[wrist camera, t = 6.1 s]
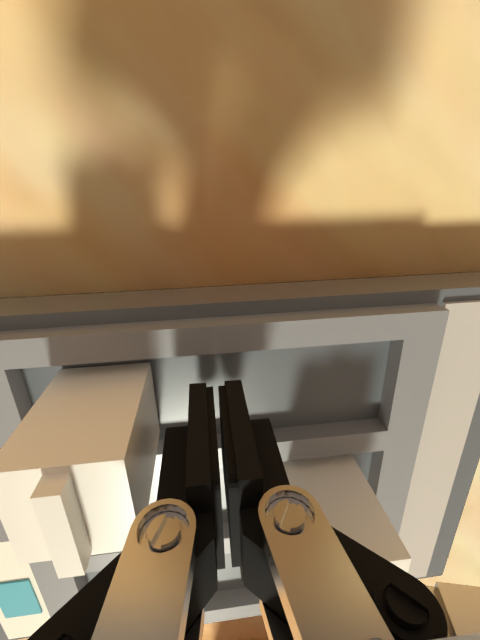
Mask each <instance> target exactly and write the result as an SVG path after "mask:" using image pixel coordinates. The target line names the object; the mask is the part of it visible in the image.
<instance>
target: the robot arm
mask: <svg viewBox="0 0 480 640" xmlns="http://www.w3.org/2000/svg"><path fill="white" fill-rule="evenodd" d="M218 392H219V411H220V429H221V448H222V463H223V474H224V485H225V495H226V506H227V517H228V528H229V539H230V550H231V561H232V568H233V567H240V571H241V580H242V581H244V586H245V587H246V588H247V589H248V590H250V591H251V592H252V593H253V594H254V595H255V596H257V597H258V600H259V607H260V611H261V614H262V618H263V621H264V625H265V628H266V632H267V636H268V639H269V640H480V587H476V586H468V585H459V584H451V583H442V582H436V584H435V587H432V586H425V585H424V584H423V583H422V582H420V581H419V580H418V579H416V578H415V577H414V576H412V575H411V574H409V573H407V572H406V571H404V570H402V569H401V568H399V567H397V566H396V565H394V564H392V563H391V562H389V561H388V560H386V559H384V558H383V557H381V556H379V555H378V554H376V553H374V552H373V551H371V550H370V549H368V548H366V547H365V546H363V545H361V544H360V543H358V542H356V541H355V540H353V539H352V538H350V537H348V536H347V535H345V534H343V533H342V532H340V531H338V530H337V529H335V528H334V527H332V526H331V525H330V523H329V521H328V520H327V518H326V516H325V514H324V512H323V511H322V509H321V507H320V505H319V503H318V502H317V501H316V500H315V498H314V497H313V496H312V495H311V494H310V493H308V492H307V491H306V490H304V489H302V488H299V487H297V486H292V485H290V484H289V480H288V477H287V474H286V471H285V467H284V464H283V461H282V458H281V454H280V451H279V448H278V445H277V442H276V438H275V435H274V432H273V429H272V425H271V422H270V420H269V418H263V419H252V420H250V417H249V413H248V408H247V404H246V399H245V395H244V390H243V386H242V382H241V380H230V381H224V386H218ZM219 569H225V552H224V534H223V517H222V499H221V483H220V469H219V456H218V444H217V431H216V418H215V405H214V393H213V386H212V387H206V383H194V384H189V406H188V426H178V427H168V428H166V431H165V438H164V446H163V454H162V462H161V469H160V477H159V485H158V493H157V500H156V502H153V503H151V504H149V505H148V506H147V507H145V508H144V509H142V511H141V512H140V513H139V514H138V515H137V516H136V517H135V519H134V521H133V523H132V525H131V527H130V530H129V533H128V536H127V539H126V541H125V544H124V547H123V550H122V552H121V553H120V554H119V555H117V556H116V557H115V558H114V559H113V560H112V561H111V562H110V563H109V564H108V565H107V566H106V567H105V568H103V569H102V570H101V571H100V572H99V573H98V574H97V575H96V576H95V577H94V578H93V579H92V580H90V581H89V582H88V583H87V584H86V585H85V586H84V587H83V588H82V589H81V590H80V591H79V592H78V593H76V594H75V595H74V596H73V597H72V598H71V599H70V600H69V601H68V602H67V603H66V604H65V605H63V606H62V607H61V608H60V609H59V610H58V611H57V612H56V613H55V614H54V615H53V616H52V617H51V618H49V619H48V620H47V621H46V622H45V623H44V624H43V625H42V626H41V627H40V628H39V629H38V630H36V631H35V632H34V633H33V634H32V635H31V636H30V638H29V639H28V640H202V637H203V627H204V618H205V606H206V605H207V603H208V602H209V601H210V599H211V598H212V597H213V595H214V594H215V593H216V591H217V590H218V586H217V585H218V576H217V570H219Z"/></svg>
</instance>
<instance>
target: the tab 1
mask: <svg viewBox="0 0 480 640" xmlns="http://www.w3.org/2000/svg"><path fill="white" fill-rule="evenodd" d="M159 434H160V427H159V420H158V413H157V406H156V399H155V392H154V385H153V378H152V371H151V364H150V362H147V363H134V364H121V365H108V366H94V367H81V368H68V369H60V370H59V372H58V373H57V374H56V376H55V377H54V378H53V380H52V381H51V382H50V384H49V385H48V386H47V388H46V389H45V390H44V392H43V393H42V394H41V396H40V397H39V398H38V400H37V401H36V402H35V404H34V405H33V406H32V408H31V409H30V410H29V412H28V413H27V414H26V416H25V417H24V418H23V420H22V421H21V422H20V424H19V425H18V426H17V428H16V429H15V430H14V432H13V433H12V434H11V436H10V437H9V438H8V440H7V441H6V443H5V444H4V445H3V447H2V448H1V449H0V520H1V522H2V524H3V527H4V529H5V532H6V534H7V536H8V539H9V541H10V544H11V546H12V548H13V551H14V553H15V555H16V558H17V560H18V563H19V565H20V564H28V563H35V562H43V561H51V560H52V562H53V565H54V568H55V571H56V573H57V576H58V579H60V578H68V577H75V576H82V575H85V573H86V570H87V566H88V563H89V560H90V556H91V555H97V554H104V553H112V552H120V551H122V550H123V547H124V544H125V541H126V539H127V536H128V533H129V530H130V527H131V525H132V523H133V521H134V519H135V517H136V516H137V515H138V514H139V513H140V512H141V511H142V509H144V508H145V507H147V506H148V505H149V499H150V493H151V486H152V480H153V473H154V467H155V460H156V454H157V447H158V441H159Z"/></svg>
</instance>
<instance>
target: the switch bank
mask: <svg viewBox="0 0 480 640" xmlns="http://www.w3.org/2000/svg"><path fill="white" fill-rule="evenodd" d="M147 362H150V364H151V371H152V378H153V385H154V392H155V399H156V406H157V413H158V420H159V427H160V434H159V441H158V447H157V454H156V460H155V467H154V473H153V480H152V486H151V493H150V499H149V504H151V503H153V502H156V500H157V493H158V485H159V477H160V469H161V462H162V454H163V446H164V438H165V431H166V428H168V427H178V426H188V406H189V384H194V383H206V387H212V386H213V393H214V405H215V418H216V431H217V444H218V456H219V469H220V483H221V499H222V517H223V534H224V552H225V569H219V570H217V576H218V585H217V586H218V590H217V591H216V593H215V594H214V595H213V597H212V598H211V599H210V601H209V602H208V603H207V605H206V606H205V618H204V624H208V623H214V622H221V621H227V620H234V619H240V618H247V617H253V616H259V615H262V614H261V611H260V607H259V600H258V597H257V596H255V595H254V594H253V593H252V592H251V591H250V590H248V589H247V588H246V587H245V586H244V581H242V580H241V571H240V567H233V568H232V561H231V550H230V539H229V528H228V517H227V506H226V495H225V485H224V474H223V463H222V448H221V429H220V411H219V392H218V386H224V381H230V380H241V382H242V386H243V390H244V395H245V399H246V404H247V408H248V413H249V417H250V420H252V419H263V418H269V420H270V422H271V425H272V429H273V432H274V435H275V438H276V442H277V445H278V448H279V451H280V454H281V458H282V461H283V462H285V461H294V460H303V459H312V458H321V457H331V456H340V455H349V454H352V455H353V457H354V459H355V460H356V462H357V464H358V466H359V467H360V469H361V471H362V473H363V474H364V476H365V478H366V480H367V481H368V483H369V485H370V486H371V488H372V490H373V492H374V493H375V495H376V497H377V499H378V500H379V502H380V504H381V506H382V507H383V509H384V511H385V513H386V514H387V516H388V518H389V520H390V521H391V523H392V525H393V527H394V528H395V530H396V532H397V534H398V535H399V537H400V539H401V541H402V542H403V544H404V546H405V548H406V549H407V551H408V553H409V555H410V556H411V558H412V559H411V563H410V567H409V571H408V573H409V574H411V575H412V576H414V577H415V578H416V579H421V578H427V577H434V576H440V575H442V574H443V571H444V568H445V565H446V561H447V558H448V555H449V552H450V549H451V546H452V543H453V540H454V536H455V533H456V530H457V527H458V524H459V521H460V518H461V515H462V511H463V508H464V505H465V502H466V499H467V496H468V493H469V490H470V486H471V483H472V480H473V477H474V474H475V471H476V468H477V465H478V461H479V458H480V272H464V273H446V274H428V275H410V276H392V277H374V278H357V279H339V280H321V281H303V282H285V283H267V284H249V285H231V286H213V287H195V288H177V289H159V290H141V291H124V292H106V293H88V294H70V295H52V296H34V297H16V298H0V449H1V448H2V447H3V445H4V444H5V443H6V441H7V440H8V438H9V437H10V436H11V434H12V433H13V432H14V430H15V429H16V428H17V426H18V425H19V424H20V422H21V421H22V420H23V418H24V417H25V416H26V414H27V413H28V412H29V410H30V409H31V408H32V406H33V405H34V404H35V402H36V401H37V400H38V398H39V397H40V396H41V394H42V393H43V392H44V390H45V389H46V388H47V386H48V385H49V384H50V382H51V381H52V380H53V378H54V377H55V376H56V374H57V373H58V372H59V370H60V369H68V368H81V367H94V366H108V365H121V364H134V363H147ZM121 552H122V551H120V552H112V553H104V554H97V555H91V556H90V560H89V563H88V566H87V570H86V573H85V575H82V576H75V577H68V578H60V579H58V576H57V573H56V571H55V568H54V565H53V562H52V560H51V561H43V562H35V563H28V564H20V565H19V563H18V560H17V558H16V555H15V553H14V551H13V548H12V546H11V544H10V541H9V539H8V536H7V534H6V532H5V529H4V527H3V524H2V522H1V520H0V640H17V639H23V638H30V636H31V635H32V634H33V633H34V632H35V631H36V630H38V629H39V628H40V627H41V626H42V625H43V624H44V623H45V622H46V621H47V620H48V619H49V618H51V617H52V616H53V615H54V614H55V613H56V612H57V611H58V610H59V609H60V608H61V607H62V606H63V605H65V604H66V603H67V602H68V601H69V600H70V599H71V598H72V597H73V596H74V595H75V594H76V593H78V592H79V591H80V590H81V589H82V588H83V587H84V586H85V585H86V584H87V583H88V582H89V581H90V580H92V579H93V578H94V577H95V576H96V575H97V574H98V573H99V572H100V571H101V570H102V569H103V568H105V567H106V566H107V565H108V564H109V563H110V562H111V561H112V560H113V559H114V558H115V557H116V556H117V555H119V554H120V553H121Z"/></svg>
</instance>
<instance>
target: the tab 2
mask: <svg viewBox="0 0 480 640" xmlns="http://www.w3.org/2000/svg"><path fill="white" fill-rule="evenodd" d="M283 464H284V467H285V471H286V474H287V477H288V480H289V484H290V485H292V486H297V487H299V488H302V489H304V490H306V491H307V492H308V493H310V494H311V495H312V496H313V497H314V498H315V500H316V501H317V502H318V503H319V505H320V507H321V509H322V511H323V512H324V514H325V516H326V518H327V520H328V521H329V523H330V525H331V526H332V527H334V528H335V529H337V530H338V531H340V532H342V533H343V534H345V535H347V536H348V537H350V538H352V539H353V540H355V541H356V542H358V543H360V544H361V545H363V546H365V547H366V548H368V549H370V550H371V551H373V552H374V553H376V554H378V555H379V556H381V557H383V558H384V559H386V560H388V561H389V562H391V563H392V564H394V565H396V566H397V567H399V568H401V569H402V570H404V571H406V572H407V573H408V571H409V567H410V563H411V559H412V558H411V556H410V555H409V553H408V551H407V549H406V548H405V546H404V544H403V542H402V541H401V539H400V537H399V535H398V534H397V532H396V530H395V528H394V527H393V525H392V523H391V521H390V520H389V518H388V516H387V514H386V513H385V511H384V509H383V507H382V506H381V504H380V502H379V500H378V499H377V497H376V495H375V493H374V492H373V490H372V488H371V486H370V485H369V483H368V481H367V480H366V478H365V476H364V474H363V473H362V471H361V469H360V467H359V466H358V464H357V462H356V460H355V459H354V457H353V455H352V454H349V455H340V456H331V457H321V458H312V459H303V460H294V461H285V462H283Z"/></svg>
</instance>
